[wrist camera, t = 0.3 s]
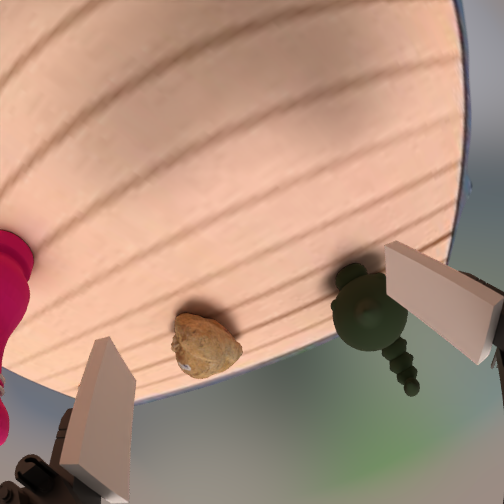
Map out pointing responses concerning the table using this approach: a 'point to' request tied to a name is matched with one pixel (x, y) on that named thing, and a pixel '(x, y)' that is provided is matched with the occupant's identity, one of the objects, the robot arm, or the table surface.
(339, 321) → the toy figurine
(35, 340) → the table surface
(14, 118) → the table surface
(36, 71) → the table surface
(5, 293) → the pepper mill
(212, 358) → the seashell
